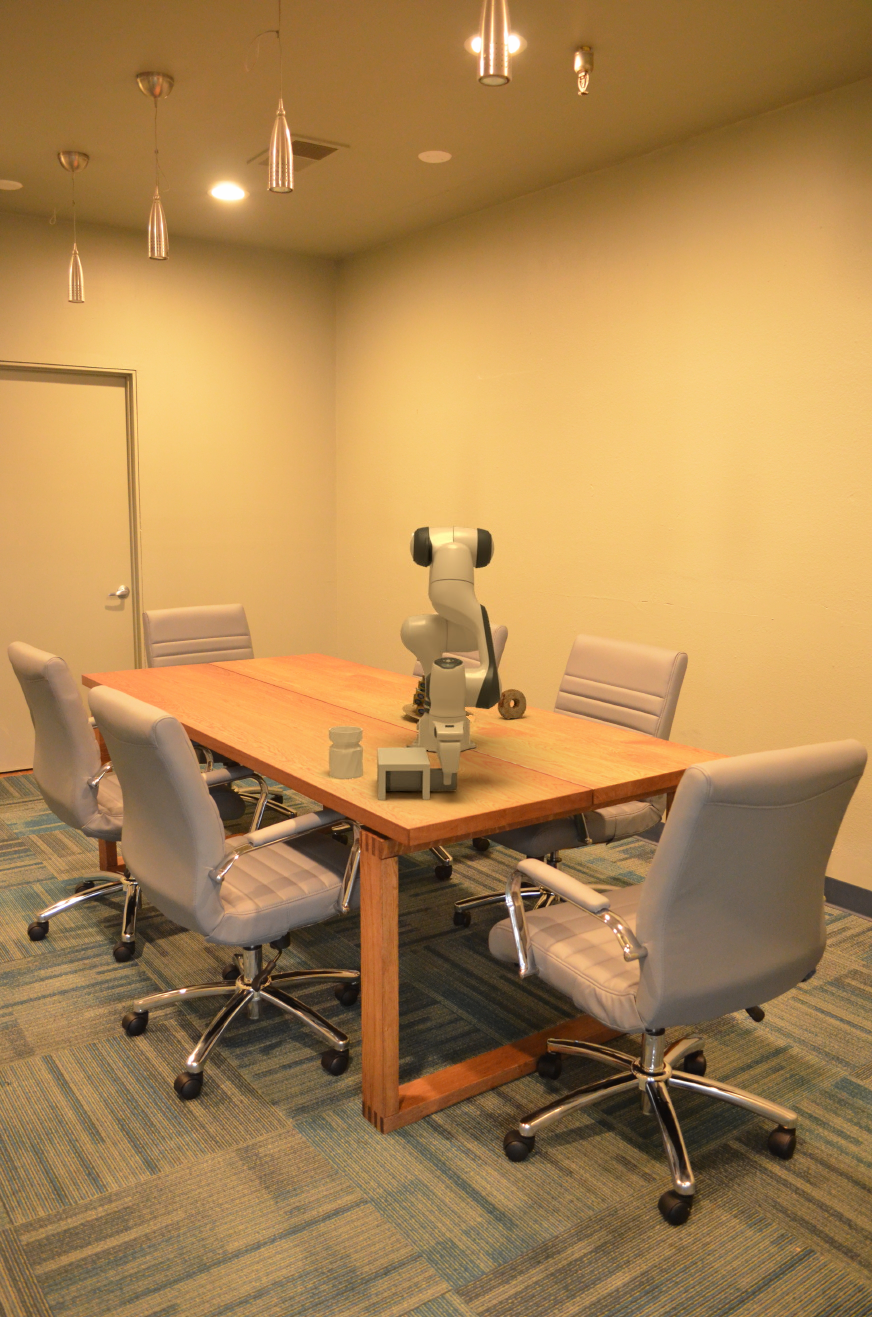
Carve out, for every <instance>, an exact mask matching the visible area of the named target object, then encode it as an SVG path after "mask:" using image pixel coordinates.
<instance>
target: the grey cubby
mask: <svg viewBox="0 0 872 1317" xmlns="http://www.w3.org/2000/svg"><path fill="white" fill-rule="evenodd" d="M376 752H377V754H376V755H377V757H376V758H377V763H376V764H377V765H376V766H377V767H376V768H377V772H376V776H377V778H376V779H377V780H376V782H377V783H378V785H377V786H378V787H377V788H378V792H377V796H378V801H386V791H385V775H386V771H423V791H421V792H422V800H426V801H427V800H428V801H429V800H430V799H431V798H430V797H431V796H430V794H431V792H430V768H431V763H430V759H429V756H428V753H427V750H426V749H425V748H406V747H377V751H376Z"/></svg>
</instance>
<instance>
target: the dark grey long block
mask: <svg viewBox="0 0 872 1317" xmlns="http://www.w3.org/2000/svg"><path fill="white" fill-rule="evenodd" d="M457 787H458V772H457V773H452V776H451V784H450V785H445V784H444V783H443V771H442V768H441V767H436V768H435V767H433V768H432V767H430V791H433V792H434V791H457V790H458V788H457ZM390 791H391V792H392V791H393V792H397V791H398V792H400V791H401V792H402V791H403V792H405V791H406V792H407V791H408V792H409V791H410V792H411V791H412V792H413V791H417V792H418V791H419V792H422V791H423V771H386V775H385V792H390Z"/></svg>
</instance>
